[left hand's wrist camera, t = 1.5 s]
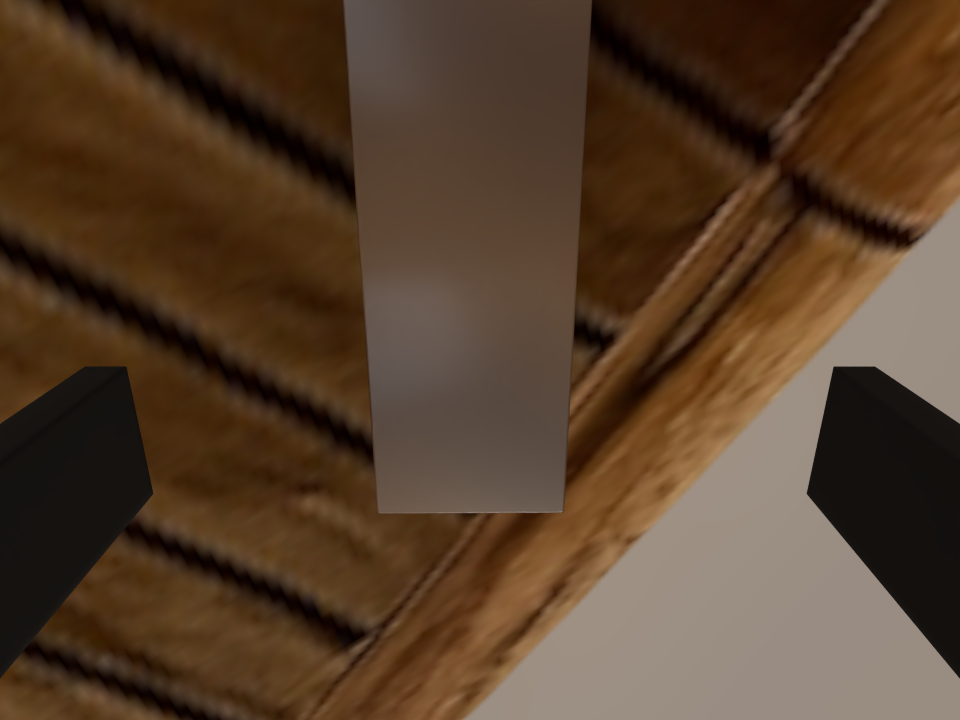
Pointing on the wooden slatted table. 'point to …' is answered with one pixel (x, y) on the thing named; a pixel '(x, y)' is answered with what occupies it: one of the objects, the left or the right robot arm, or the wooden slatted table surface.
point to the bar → (468, 244)
